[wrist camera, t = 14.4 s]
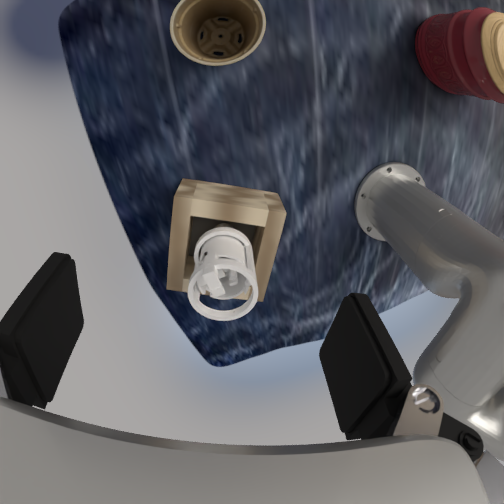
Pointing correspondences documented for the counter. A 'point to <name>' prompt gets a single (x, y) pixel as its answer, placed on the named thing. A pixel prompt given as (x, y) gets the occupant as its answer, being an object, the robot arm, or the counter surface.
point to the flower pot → (217, 29)
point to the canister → (464, 52)
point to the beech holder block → (217, 212)
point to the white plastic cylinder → (223, 271)
